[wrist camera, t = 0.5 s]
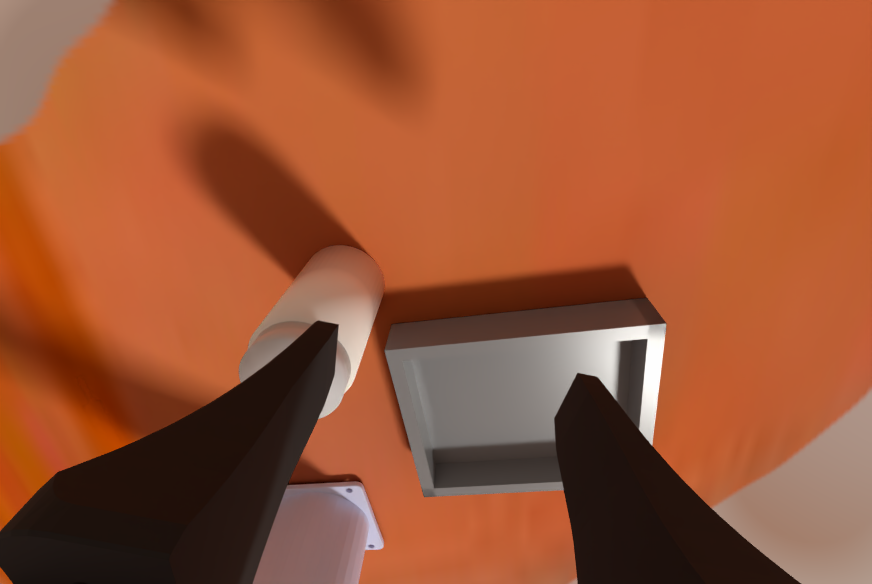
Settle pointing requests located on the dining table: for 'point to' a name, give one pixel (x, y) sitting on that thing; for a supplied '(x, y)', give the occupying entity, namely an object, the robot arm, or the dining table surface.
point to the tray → (516, 388)
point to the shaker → (323, 314)
